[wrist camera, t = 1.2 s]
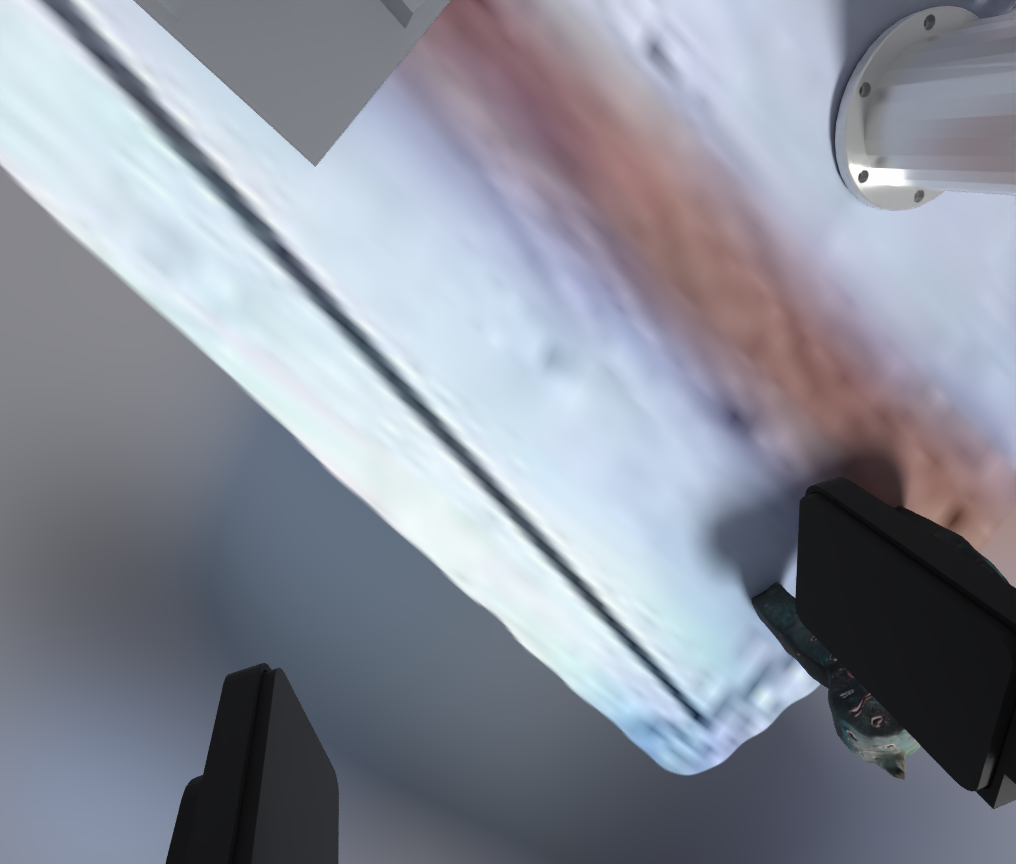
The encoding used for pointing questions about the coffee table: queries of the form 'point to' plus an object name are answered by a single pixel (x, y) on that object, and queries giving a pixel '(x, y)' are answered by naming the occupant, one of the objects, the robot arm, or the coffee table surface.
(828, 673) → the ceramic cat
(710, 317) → the coffee table surface
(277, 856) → the robot arm
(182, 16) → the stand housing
